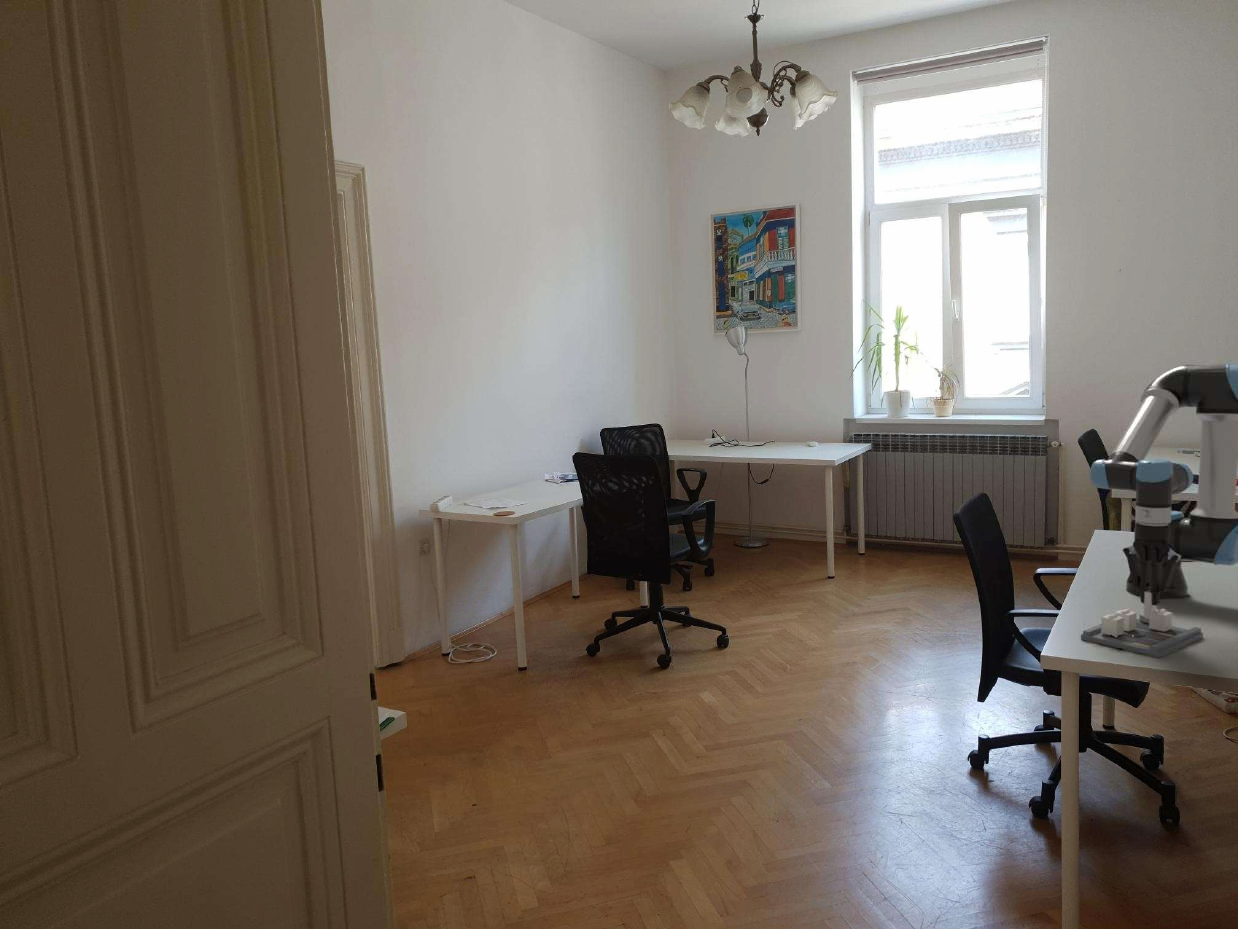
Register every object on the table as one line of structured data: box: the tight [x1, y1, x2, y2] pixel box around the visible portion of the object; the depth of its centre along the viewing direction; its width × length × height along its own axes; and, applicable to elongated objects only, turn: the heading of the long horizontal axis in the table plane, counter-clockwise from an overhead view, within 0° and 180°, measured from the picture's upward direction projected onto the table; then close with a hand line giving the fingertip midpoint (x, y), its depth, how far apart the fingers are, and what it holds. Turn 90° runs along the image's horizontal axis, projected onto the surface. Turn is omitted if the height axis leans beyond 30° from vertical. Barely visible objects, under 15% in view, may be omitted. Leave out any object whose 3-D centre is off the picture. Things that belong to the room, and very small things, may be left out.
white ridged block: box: [1100, 613, 1124, 636], centre depth 216 cm, size 4×4×5 cm
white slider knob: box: [1113, 608, 1137, 631], centre depth 219 cm, size 4×4×5 cm
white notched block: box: [1149, 608, 1173, 632], centre depth 218 cm, size 4×4×5 cm
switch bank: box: [1080, 618, 1204, 659], centre depth 217 cm, size 22×18×2 cm
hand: (1149, 617), depth 220 cm, fingers closed
